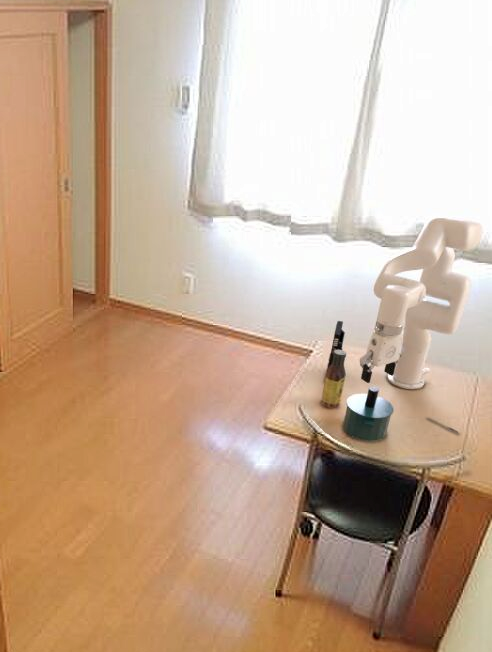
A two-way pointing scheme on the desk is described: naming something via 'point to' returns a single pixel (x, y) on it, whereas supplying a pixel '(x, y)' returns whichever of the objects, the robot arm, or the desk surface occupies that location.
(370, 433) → the pot
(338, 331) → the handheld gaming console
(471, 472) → the desk surface
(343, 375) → the sauce bottle
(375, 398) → the lid
